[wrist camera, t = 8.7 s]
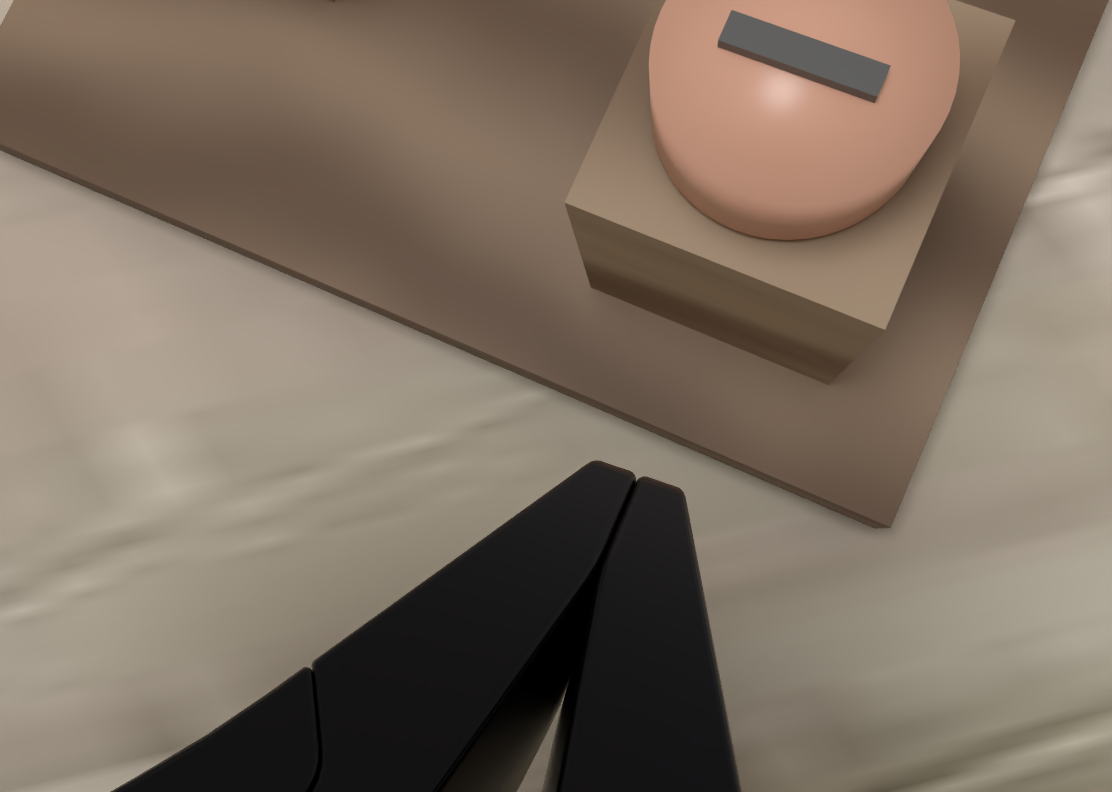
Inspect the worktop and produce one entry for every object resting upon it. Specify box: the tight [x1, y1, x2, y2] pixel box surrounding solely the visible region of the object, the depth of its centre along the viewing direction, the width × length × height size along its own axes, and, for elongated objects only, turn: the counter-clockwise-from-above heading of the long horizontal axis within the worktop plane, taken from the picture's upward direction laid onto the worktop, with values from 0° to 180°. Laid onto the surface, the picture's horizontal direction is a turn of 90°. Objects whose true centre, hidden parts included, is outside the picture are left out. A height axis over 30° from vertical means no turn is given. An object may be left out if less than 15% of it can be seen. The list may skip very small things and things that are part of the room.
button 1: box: [649, 0, 960, 240], centre depth 15 cm, size 4×4×2 cm
